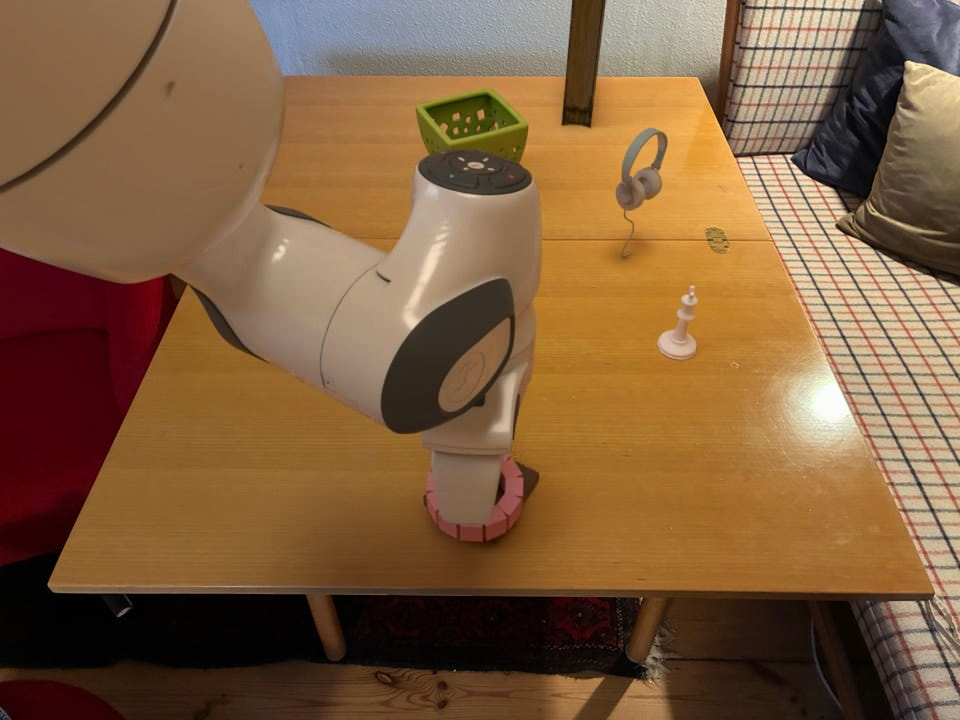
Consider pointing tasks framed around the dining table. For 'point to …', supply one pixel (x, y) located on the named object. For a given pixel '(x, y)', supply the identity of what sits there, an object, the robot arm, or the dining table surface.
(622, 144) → the dining table surface
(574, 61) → the book
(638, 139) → the headphones
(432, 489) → the ring
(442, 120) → the flower pot
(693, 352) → the chess piece
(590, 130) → the dining table surface
